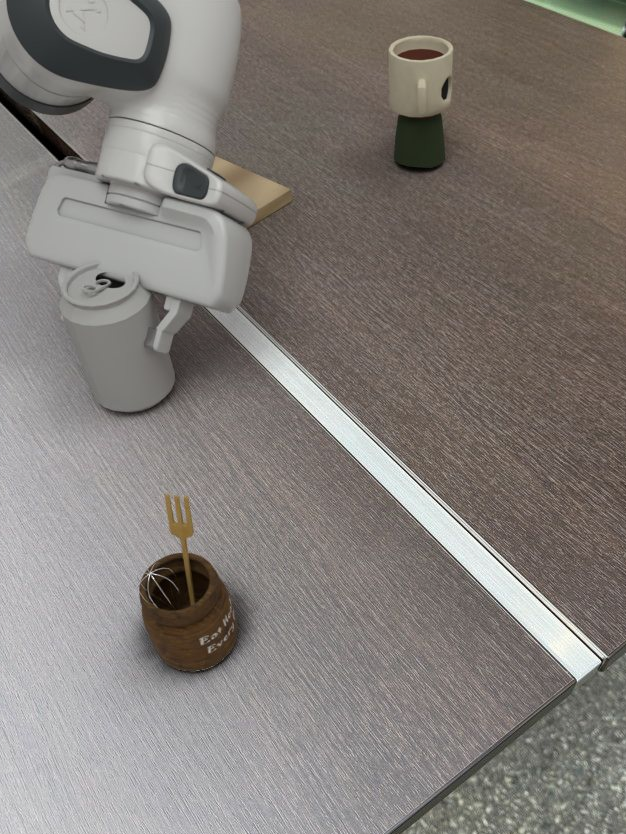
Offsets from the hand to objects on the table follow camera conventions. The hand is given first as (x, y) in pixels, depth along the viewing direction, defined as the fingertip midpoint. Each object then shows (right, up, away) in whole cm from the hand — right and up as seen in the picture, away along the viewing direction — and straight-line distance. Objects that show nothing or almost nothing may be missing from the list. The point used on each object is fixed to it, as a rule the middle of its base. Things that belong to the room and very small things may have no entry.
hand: (114, 338), depth 72 cm
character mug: (+28, +27, +30) cm, 49 cm away
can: (0, -4, +5) cm, 7 cm away
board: (+1, +20, +25) cm, 32 cm away
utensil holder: (+10, -24, -12) cm, 28 cm away
